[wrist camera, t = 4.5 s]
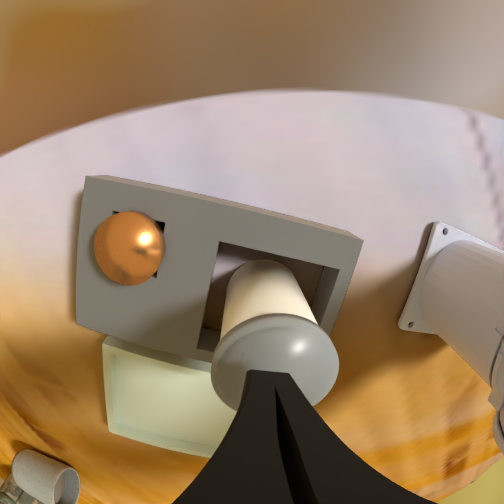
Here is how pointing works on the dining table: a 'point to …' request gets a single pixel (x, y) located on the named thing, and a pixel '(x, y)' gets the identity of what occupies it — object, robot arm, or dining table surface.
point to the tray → (162, 399)
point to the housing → (194, 263)
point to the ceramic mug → (45, 478)
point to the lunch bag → (15, 493)
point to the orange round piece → (130, 247)
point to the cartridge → (270, 335)
